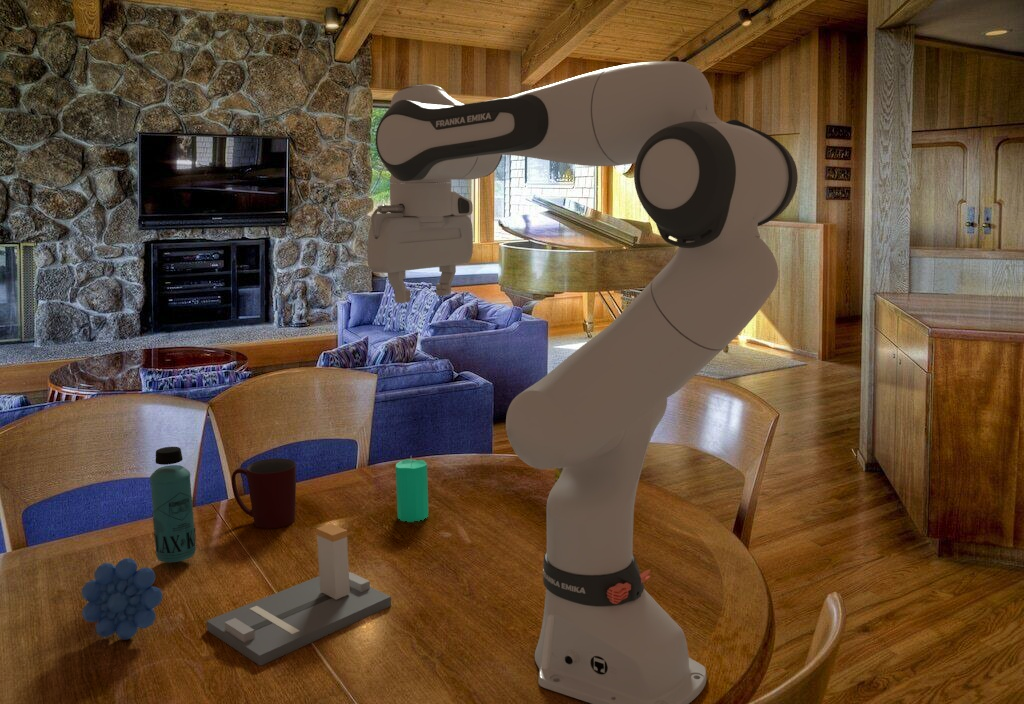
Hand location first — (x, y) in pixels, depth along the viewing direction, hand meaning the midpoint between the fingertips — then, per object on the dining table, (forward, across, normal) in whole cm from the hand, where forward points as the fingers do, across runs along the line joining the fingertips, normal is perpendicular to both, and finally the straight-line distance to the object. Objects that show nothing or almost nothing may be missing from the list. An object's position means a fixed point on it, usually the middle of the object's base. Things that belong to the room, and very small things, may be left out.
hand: (423, 298), depth 126 cm
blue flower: (+46, -35, +26) cm, 63 cm away
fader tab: (+44, -13, +9) cm, 46 cm away
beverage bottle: (+46, -16, +42) cm, 64 cm away
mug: (+46, +4, +43) cm, 63 cm away
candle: (+46, +21, +21) cm, 55 cm away
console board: (+45, -18, +10) cm, 50 cm away
